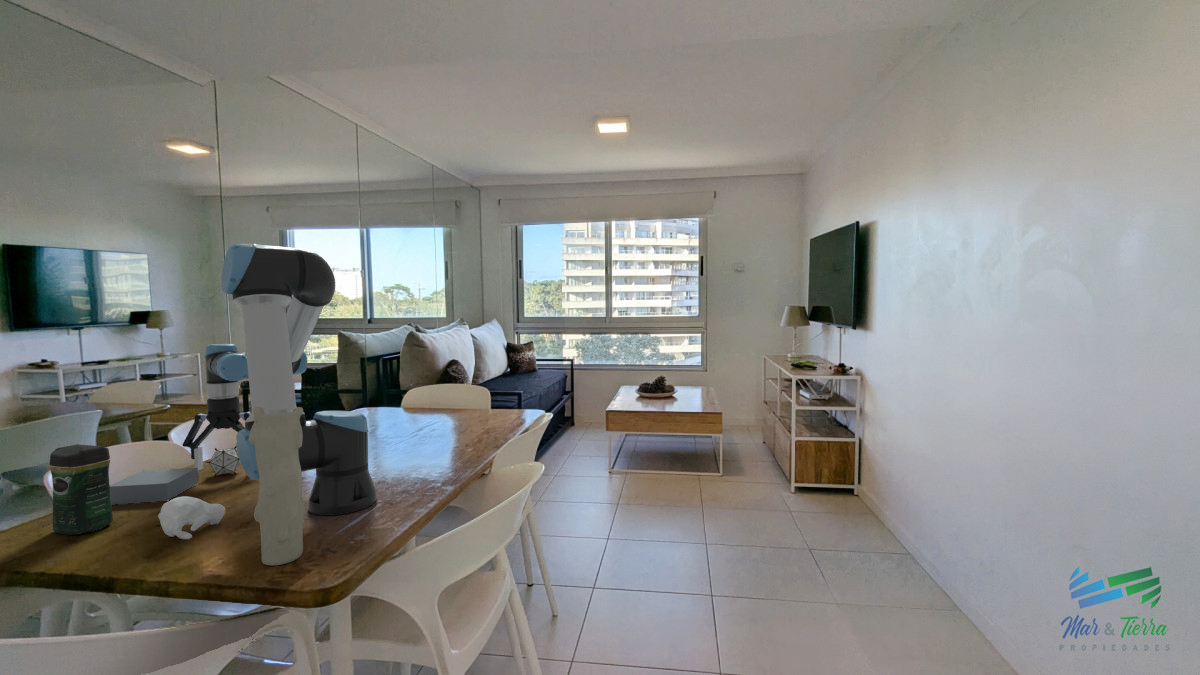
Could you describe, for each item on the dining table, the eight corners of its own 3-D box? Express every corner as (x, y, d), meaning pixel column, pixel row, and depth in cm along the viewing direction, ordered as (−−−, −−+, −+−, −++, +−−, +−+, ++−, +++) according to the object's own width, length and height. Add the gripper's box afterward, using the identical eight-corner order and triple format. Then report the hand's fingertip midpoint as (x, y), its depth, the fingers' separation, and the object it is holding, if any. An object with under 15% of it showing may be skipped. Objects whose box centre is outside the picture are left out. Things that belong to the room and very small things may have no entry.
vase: (245, 568, 94) (240, 409, 92) (274, 546, 102) (270, 401, 101) (291, 568, 94) (287, 409, 92) (317, 547, 102) (313, 401, 101)
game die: (228, 488, 146) (224, 467, 141) (201, 477, 146) (195, 456, 141) (252, 465, 154) (249, 444, 148) (226, 455, 154) (222, 434, 148)
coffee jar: (121, 522, 113) (117, 442, 113) (78, 538, 106) (73, 451, 105) (89, 518, 116) (85, 439, 115) (44, 533, 108) (40, 448, 107)
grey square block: (168, 502, 126) (167, 483, 126) (107, 506, 124) (106, 486, 124) (198, 485, 139) (197, 467, 139) (144, 488, 137) (143, 470, 136)
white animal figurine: (155, 499, 105) (214, 485, 116) (152, 540, 104) (212, 523, 116) (176, 502, 103) (234, 488, 114) (173, 545, 102) (232, 526, 114)
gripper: (276, 393, 153) (278, 461, 154) (181, 396, 147) (184, 467, 148) (265, 397, 145) (267, 469, 146) (165, 400, 140) (168, 475, 141)
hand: (225, 468), depth 147 cm, fingers open, 13 cm apart
